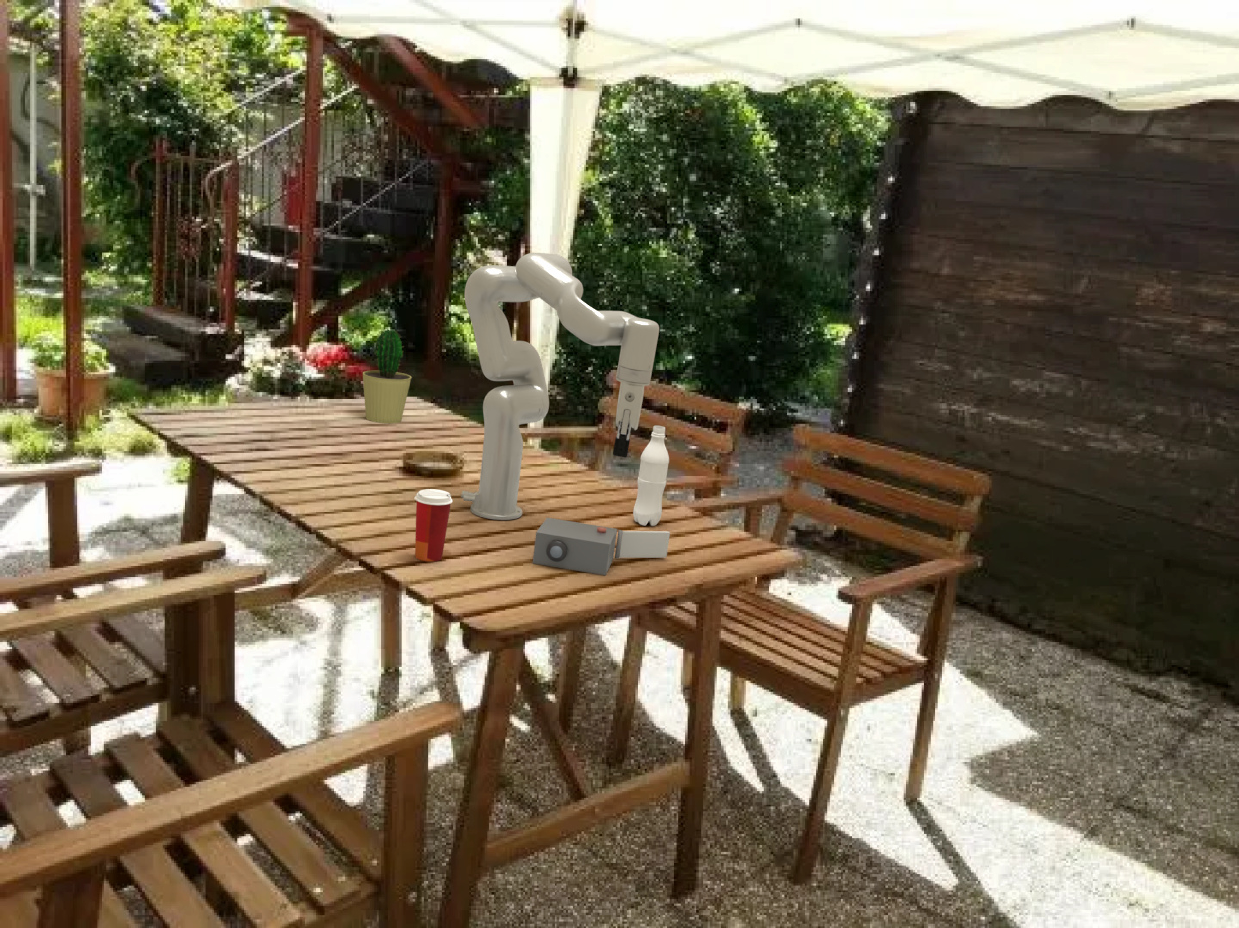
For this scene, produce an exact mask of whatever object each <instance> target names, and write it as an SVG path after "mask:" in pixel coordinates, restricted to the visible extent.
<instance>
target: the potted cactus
mask: <svg viewBox="0 0 1239 928" xmlns="http://www.w3.org/2000/svg"><path fill="white" fill-rule="evenodd" d="M402 337H403V335H402V336H401V333H398V331H397V330H394V329H391V330H390V329H387V328H386V329H384V330H383V331H380V334H377V336H375V339H376V341H374V342H375V343H374V346H375V347H374V348H373V349H372V351H373V353H374V355H373V356H374V357H375V358H376V362H377V368H378V369H377V370H374V369H373V370H365V371H363V372H362V382H363V394H364V395H363V396H364V409H365V410H364V411H365V419H366V420H368V421H370V422H374V423H379V424H398V423H401V422H402V419H403V416H404V415H403V414H404V411H405V406H406V402H407V398H408V393H409V390H410V386H411V385H410V384H411V380H412V378H413V377H412V376H411V375H409V374H407V373H402V372H400V370H401V369H399V366H401V364H400V363H401V362H402V361H401V359H402V358H403V357H404V350H403V349H402V348H404V347H405V345H403V346H402V344H403V343H402V341H401V340H402V339H400V338H402ZM403 359H404V358H403ZM398 370H399V372H398Z"/></svg>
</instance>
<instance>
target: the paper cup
mask: <svg viewBox="0 0 1239 928" xmlns="http://www.w3.org/2000/svg"><path fill="white" fill-rule="evenodd" d="M414 500H415V501H416V507H415V545H414V549H415V551H414V553H415V554H414V557H415V558H416V559H417V560H419V561H421V562H427V563H430V562H431V563H433V562H440V561H441V560H442V558H443V555H444V549H445V542H446V537H447V530H448V523H449V519H450V511H451V504H452V503H453V499H452V495H451V493H450V492H448V491H445V490H442V489H434V488H430V489H429V488H426V489H421V490H418V492H417V493H416V494H415V496H414Z"/></svg>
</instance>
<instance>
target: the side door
mask: <svg viewBox="0 0 1239 928" xmlns="http://www.w3.org/2000/svg"><path fill="white" fill-rule="evenodd" d="M670 535H671V532H670V531H664V530H662V531H659V530H658V531H657V530H655V531H654V530H653V531H651V530H649V531H648V530H647V531H646V530H645V531H644V530H621V529H617V536H616V544H615V551H614V558H615V559H617V560H618V559H620V558H621V559H622V558H623V559H626V558H627V559H628V558H632V559H633V558H634V559H635V558H638V559H639V558H641V559H642V558H646V559H649V558H650V559H651V558H653V559H654V558H657V559H658V558H660V559H661V558H664V559H665V558H667V556H668V551H669V550H668V549H669V543H670V541H669V540H670Z"/></svg>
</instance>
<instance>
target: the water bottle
mask: <svg viewBox="0 0 1239 928" xmlns="http://www.w3.org/2000/svg"><path fill="white" fill-rule="evenodd" d="M650 436H651V438H650V441H649V442H648V444H647V445H646V446H645V448H644V449H643V451H642V453H641V455H640V462H639V463H640V465H639V469H638V471H639V472H638V477H637V480H636V481H637V497H636V499H635V504H634V506H633V512H632V514H633V519H634V522H635V523H638V524H639V525H640V526H644V527H645V526H647V524H648V523H649V525H650V526H651V527H654V526H657V524H658V523H660V520H661V518H662V514H663V510H662V509H663V505H662V504H663V502H662V501H663V495H664V491H665V488H666V486H667V477H668V476H667V474H668V468H669V464H670V456H669V453H668V449H667V447H666V445H665V438H666V427H665V426H661V425H654V426H653V427H652V431H651V435H650Z"/></svg>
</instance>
